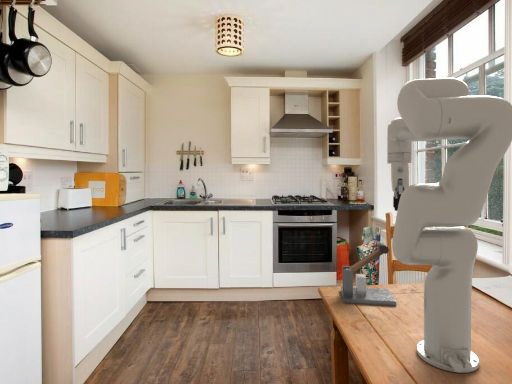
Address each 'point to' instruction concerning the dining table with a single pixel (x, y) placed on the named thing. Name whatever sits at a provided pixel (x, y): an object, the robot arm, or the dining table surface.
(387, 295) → the base
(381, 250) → the lever
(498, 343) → the dining table surface
